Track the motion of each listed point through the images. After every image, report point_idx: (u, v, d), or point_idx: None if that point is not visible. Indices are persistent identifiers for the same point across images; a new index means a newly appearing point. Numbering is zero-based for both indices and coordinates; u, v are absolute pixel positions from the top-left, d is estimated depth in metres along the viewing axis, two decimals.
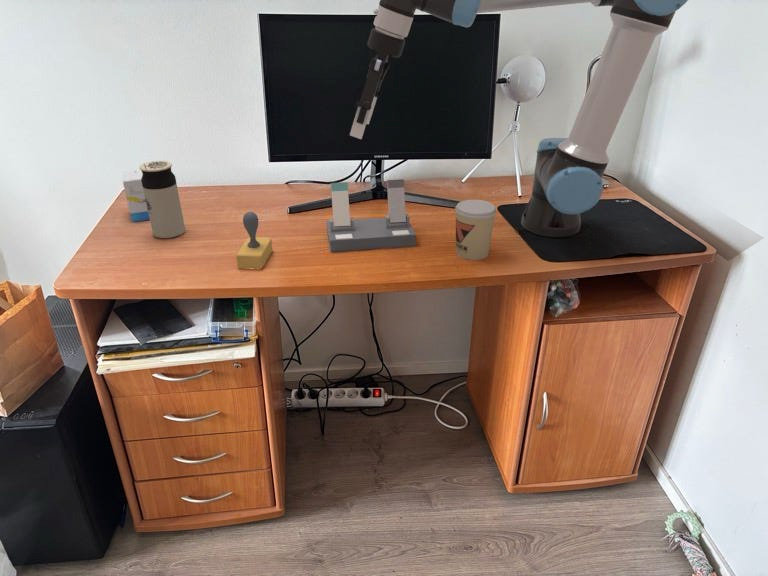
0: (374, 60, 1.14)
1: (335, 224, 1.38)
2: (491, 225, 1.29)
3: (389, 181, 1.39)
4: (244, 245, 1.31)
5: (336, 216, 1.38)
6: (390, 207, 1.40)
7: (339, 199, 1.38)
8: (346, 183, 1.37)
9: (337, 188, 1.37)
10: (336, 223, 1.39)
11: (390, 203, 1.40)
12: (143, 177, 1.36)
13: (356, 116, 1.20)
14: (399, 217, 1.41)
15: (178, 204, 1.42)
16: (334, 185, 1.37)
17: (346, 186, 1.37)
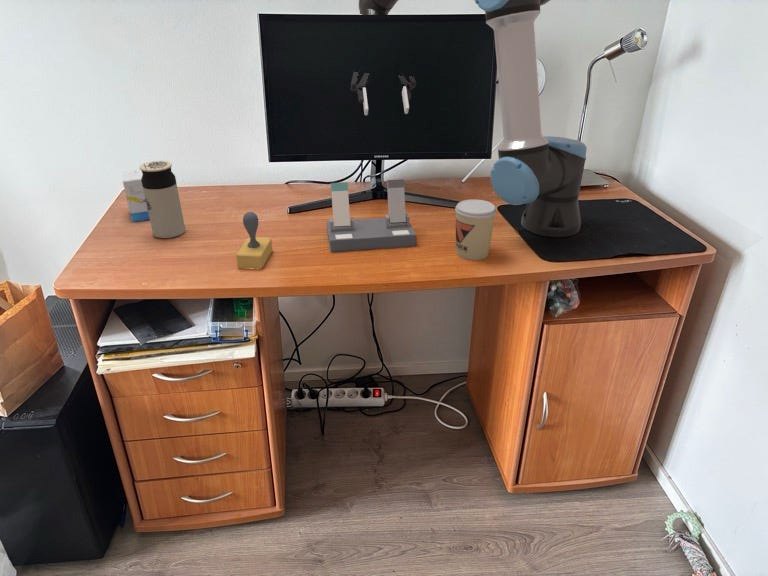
0: None
1: (335, 224, 1.38)
2: (491, 225, 1.29)
3: (389, 181, 1.39)
4: (244, 245, 1.31)
5: (336, 216, 1.38)
6: (390, 207, 1.40)
7: (339, 199, 1.38)
8: (346, 183, 1.37)
9: (337, 188, 1.37)
10: (336, 223, 1.39)
11: (390, 203, 1.40)
12: (143, 177, 1.36)
13: None
14: (399, 217, 1.41)
15: (178, 204, 1.42)
16: (334, 185, 1.37)
17: (346, 186, 1.37)
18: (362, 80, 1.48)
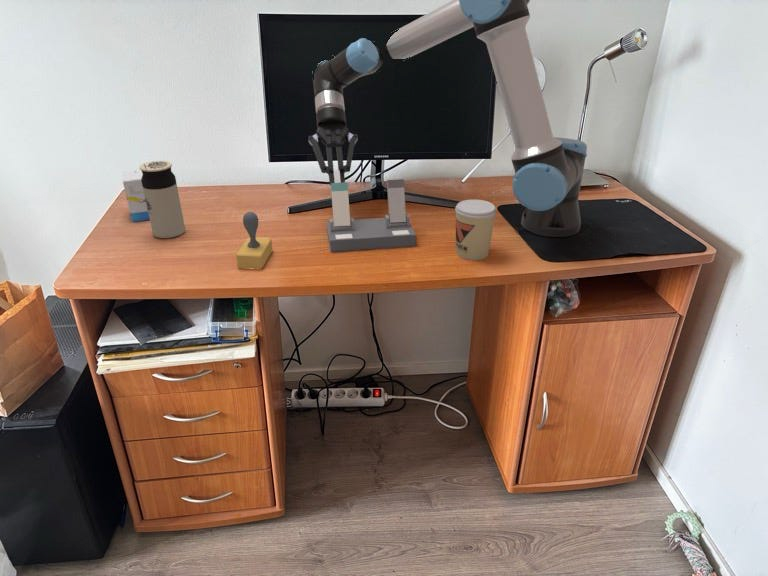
0: None
1: (335, 224, 1.38)
2: (491, 225, 1.29)
3: (389, 181, 1.39)
4: (244, 245, 1.31)
5: (336, 216, 1.38)
6: (390, 207, 1.40)
7: (339, 199, 1.38)
8: (346, 183, 1.37)
9: (337, 188, 1.37)
10: (336, 223, 1.39)
11: (390, 203, 1.40)
12: (143, 177, 1.36)
13: None
14: (399, 217, 1.41)
15: (178, 204, 1.42)
16: (334, 185, 1.37)
17: (346, 186, 1.37)
18: (329, 162, 1.41)
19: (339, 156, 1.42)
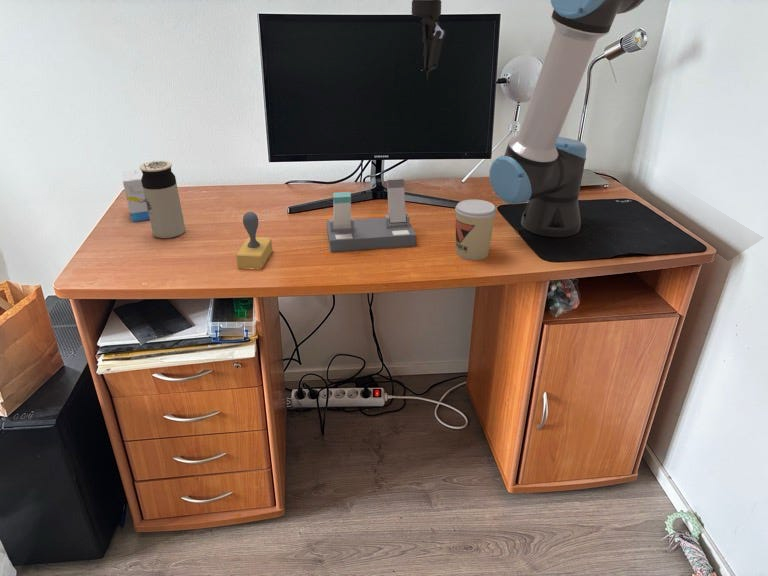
0: None
1: (335, 226, 1.39)
2: (491, 225, 1.29)
3: (389, 181, 1.39)
4: (244, 245, 1.31)
5: (336, 221, 1.37)
6: (390, 207, 1.40)
7: (341, 209, 1.34)
8: (349, 197, 1.31)
9: (340, 201, 1.32)
10: (336, 225, 1.39)
11: (390, 203, 1.40)
12: (143, 177, 1.36)
13: None
14: (399, 217, 1.41)
15: (178, 204, 1.42)
16: (337, 199, 1.31)
17: (349, 199, 1.32)
18: None
19: (424, 55, 1.48)
